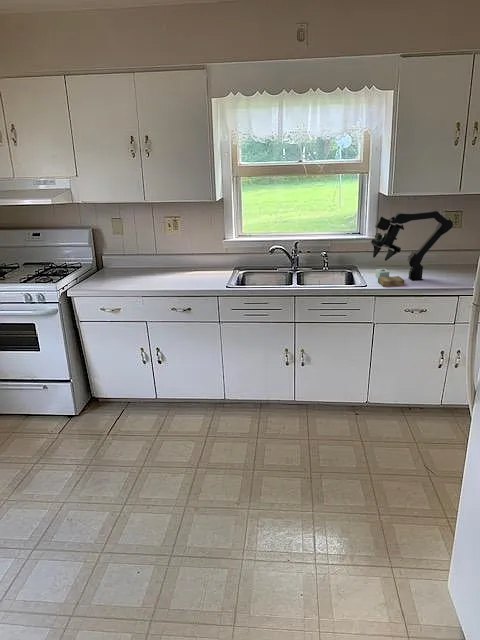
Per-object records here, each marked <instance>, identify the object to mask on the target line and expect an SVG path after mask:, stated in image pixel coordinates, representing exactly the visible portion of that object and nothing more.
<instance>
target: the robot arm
mask: <svg viewBox="0 0 480 640" xmlns="http://www.w3.org/2000/svg"><path fill="white" fill-rule="evenodd" d="M427 219H428V220H430V219H434V220H435V221H436V222H437V223H438V224H437V226H436V227H435V230H434V231H433V233H432V234H431V235H430V236H429V237H428V238H427V239H426V241H425V242H423V244H422V245H421V247H419V248H418V250H416V251H415V252H414V251H413V250H412V252H411V253H410V254H409V255H408V256H407V259H406V261H407V264H408V265H409V266H410V268H409V271H408V279H409V280H410V281H412V282H413V281H414V282H415V281H417V282H418V281H424V279H423V272H424V271H423V269H424V266H423V265H422V264H421V262H422V260H423V259H424V257H425V255H426V253H428V251H429V250H431V248H432V247H433V246H434V245H435V244H436V243H437V241H438V240H439V239H440V238H441V236H443V235H445V234H447V233H448V232H449V231H450V230H451V229H452V228H453V227H454V222H453V221H452V220H451V219H449V218H447V217H445V216H444V215H442V214H441V213H440V212H439V211H438V210H435V209H434V210H429V211H419V212H404V211H403V212H402V211H400V212H399V211H398V212H396V213H395V214H394V216H392V217H390V218H389V219H388V218H385V217H384V216H380V217H379V218H378V220H377V221H376V224H375V226H374V227H375V228H376V229H378V230H381V231H383V232H386V233H384V234H383V235H382V234H381V233H380V232H376V233H375V234H374V235H375V236H374V238H372V239H371V241H370V244H371V245H372V247H373V253H372V258H376V257H377V256H378V254H379V253H380V251H381V250H382V247H385V248H387V250H388V251H387V253H386V256H385V257H384V261H385V262H387V261H388V260H389V259H390V258H392V257H393V256H395V255H396V254H398V253H400V252H401V249H402V248H401V246H398V245H397V244H395V243H394V242H395V241H397V240H398V235H399V233H400V231H401V230H402V231H404V230H405V227H404V224H406V223H409V222H411V221H419V220H427Z"/></svg>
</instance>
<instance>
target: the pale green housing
mask: <svg viewBox="0 0 480 640" xmlns="http://www.w3.org/2000/svg"><path fill="white" fill-rule="evenodd" d="M378 277H390V271H389V270H388V269H386V268H377V269H375V278H376V279H377V280H378Z"/></svg>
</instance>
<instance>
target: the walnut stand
mask: <svg viewBox="0 0 480 640" xmlns="http://www.w3.org/2000/svg"><path fill="white" fill-rule="evenodd" d="M405 282H406V281H405V279H403V278H402V277H400V276H399V275H396V276H389V277H378V279H377V284H379V285H381V287H383V288H384V287H400V286H405V284H406V283H405Z"/></svg>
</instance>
